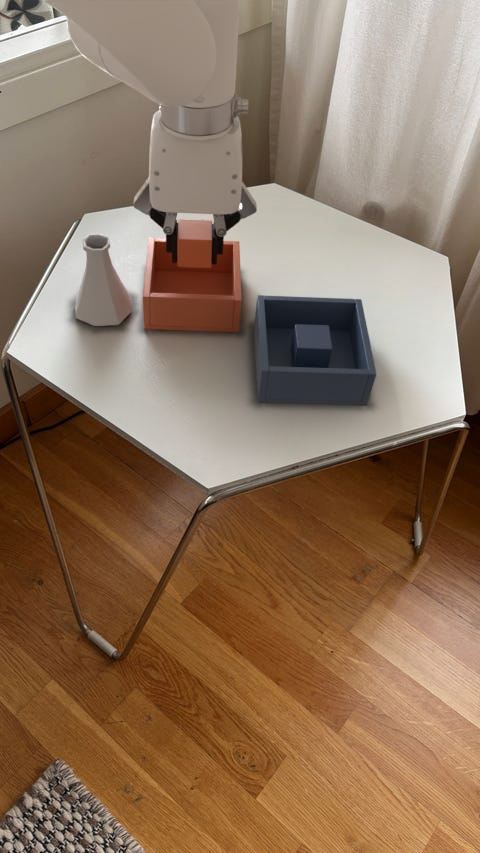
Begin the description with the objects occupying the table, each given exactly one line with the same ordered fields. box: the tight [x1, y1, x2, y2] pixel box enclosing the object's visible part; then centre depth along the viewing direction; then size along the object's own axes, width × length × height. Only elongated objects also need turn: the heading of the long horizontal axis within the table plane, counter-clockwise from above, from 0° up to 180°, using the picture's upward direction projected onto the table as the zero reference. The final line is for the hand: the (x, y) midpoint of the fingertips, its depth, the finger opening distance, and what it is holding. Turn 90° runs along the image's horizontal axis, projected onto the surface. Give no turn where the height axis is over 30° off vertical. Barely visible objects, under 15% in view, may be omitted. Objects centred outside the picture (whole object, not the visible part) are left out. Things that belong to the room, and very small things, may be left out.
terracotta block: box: [177, 218, 213, 268], centre depth 84 cm, size 4×4×4 cm
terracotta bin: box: [142, 237, 243, 333], centre depth 89 cm, size 12×12×5 cm
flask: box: [74, 233, 132, 327], centre depth 85 cm, size 7×7×10 cm
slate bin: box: [253, 294, 377, 406], centre depth 83 cm, size 13×13×5 cm
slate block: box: [291, 324, 332, 368], centre depth 83 cm, size 4×4×4 cm
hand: (194, 255), depth 86 cm, fingers closed on terracotta block, 4 cm apart
